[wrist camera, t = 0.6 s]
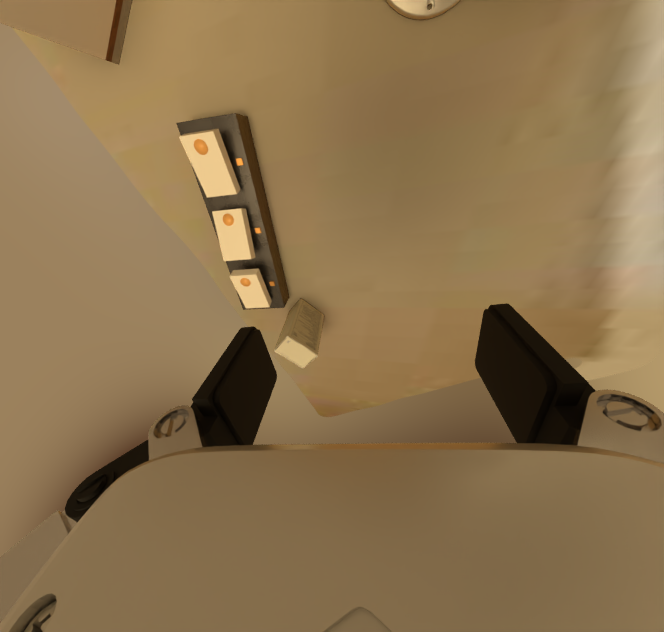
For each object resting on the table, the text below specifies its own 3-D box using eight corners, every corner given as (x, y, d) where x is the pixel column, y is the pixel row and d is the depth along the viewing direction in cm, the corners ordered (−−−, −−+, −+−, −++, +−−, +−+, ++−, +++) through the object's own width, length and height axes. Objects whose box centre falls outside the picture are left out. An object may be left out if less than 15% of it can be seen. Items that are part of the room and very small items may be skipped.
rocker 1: (185, 133, 31) (178, 136, 30) (218, 128, 30) (212, 131, 29) (211, 193, 36) (206, 197, 35) (240, 189, 35) (236, 194, 34)
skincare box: (289, 311, 51) (271, 350, 41) (301, 296, 49) (286, 335, 39) (313, 328, 53) (302, 370, 43) (326, 315, 51) (318, 356, 41)
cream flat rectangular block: (217, 211, 37) (211, 211, 36) (245, 208, 37) (240, 208, 35) (229, 259, 40) (223, 261, 38) (255, 257, 39) (250, 259, 37)
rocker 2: (232, 270, 41) (229, 276, 39) (258, 268, 40) (255, 275, 39) (248, 302, 46) (245, 309, 44) (271, 301, 45) (269, 307, 44)
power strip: (191, 125, 35) (172, 123, 32) (247, 116, 34) (234, 112, 31) (248, 299, 51) (240, 310, 47) (289, 296, 49) (283, 308, 46)
